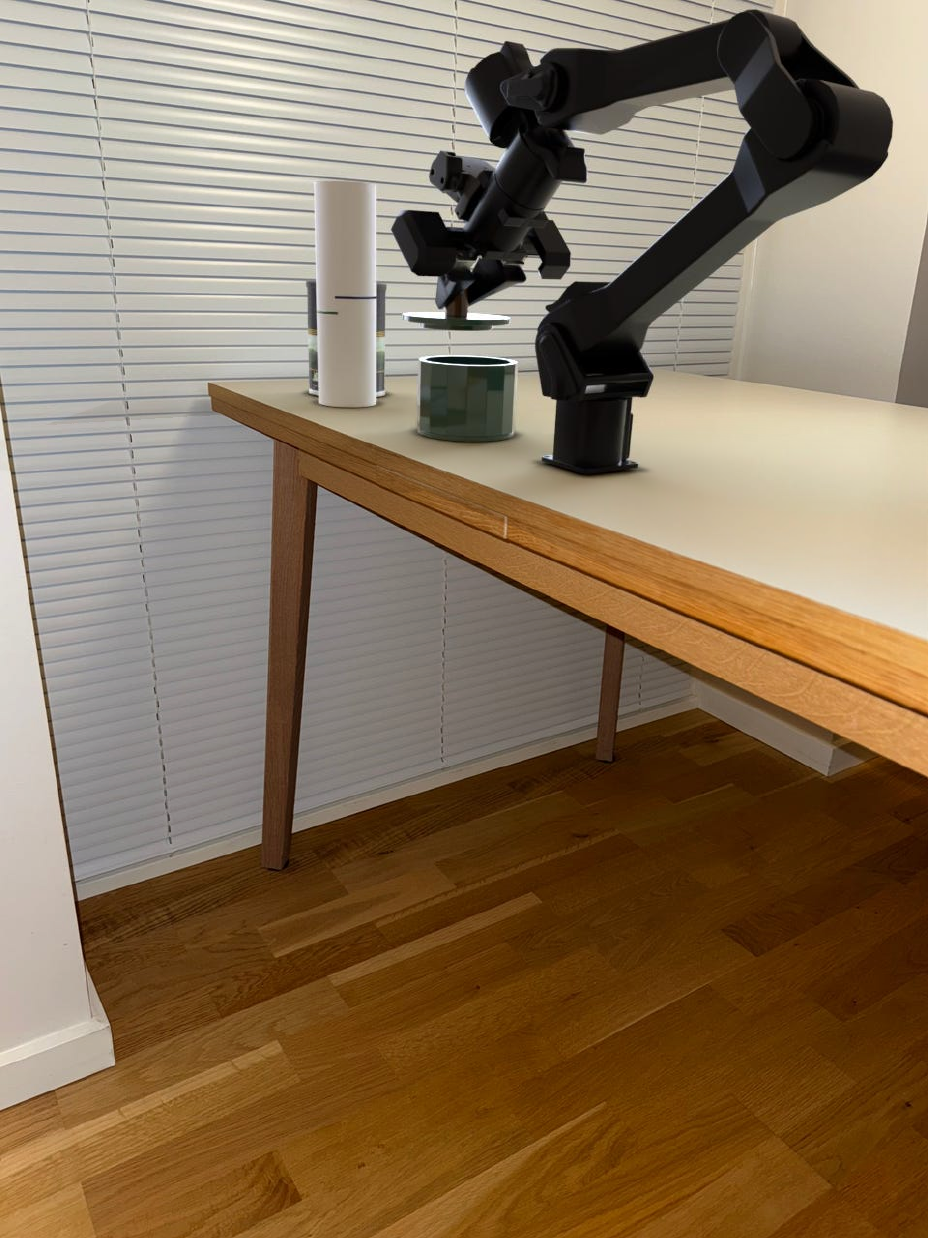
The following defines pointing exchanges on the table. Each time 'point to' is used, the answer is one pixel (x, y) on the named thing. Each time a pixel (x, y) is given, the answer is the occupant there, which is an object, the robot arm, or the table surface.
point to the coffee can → (314, 343)
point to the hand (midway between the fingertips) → (448, 305)
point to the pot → (467, 398)
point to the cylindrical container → (346, 292)
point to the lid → (456, 317)
